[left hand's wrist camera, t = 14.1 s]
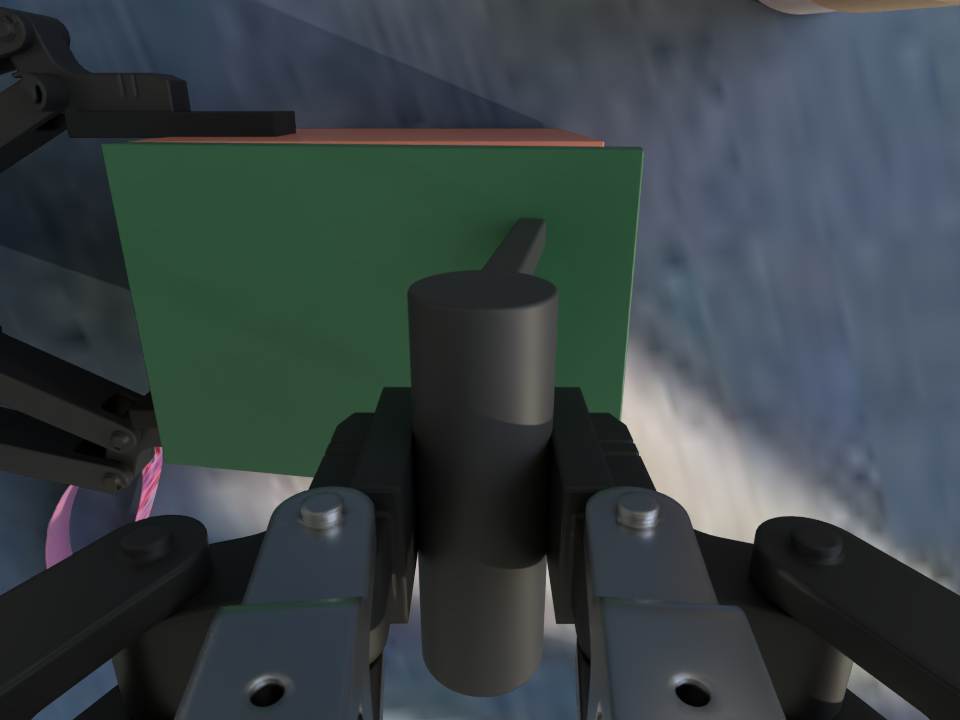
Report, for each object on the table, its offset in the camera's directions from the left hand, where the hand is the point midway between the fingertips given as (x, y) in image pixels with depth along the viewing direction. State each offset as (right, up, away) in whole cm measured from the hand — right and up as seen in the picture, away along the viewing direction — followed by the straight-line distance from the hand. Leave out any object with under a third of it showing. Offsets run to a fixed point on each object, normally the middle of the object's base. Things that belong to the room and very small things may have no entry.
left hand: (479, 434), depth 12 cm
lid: (-3, +3, +7) cm, 8 cm away
